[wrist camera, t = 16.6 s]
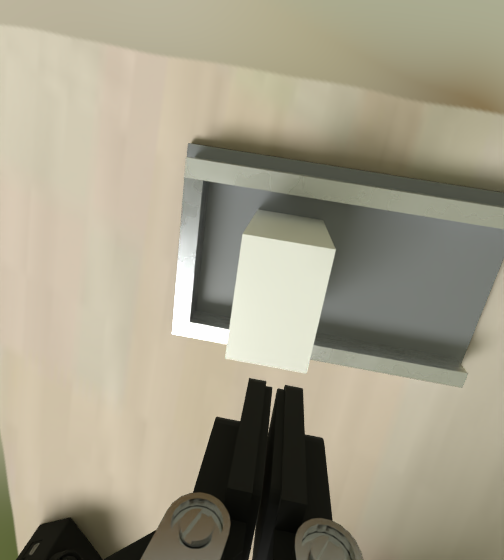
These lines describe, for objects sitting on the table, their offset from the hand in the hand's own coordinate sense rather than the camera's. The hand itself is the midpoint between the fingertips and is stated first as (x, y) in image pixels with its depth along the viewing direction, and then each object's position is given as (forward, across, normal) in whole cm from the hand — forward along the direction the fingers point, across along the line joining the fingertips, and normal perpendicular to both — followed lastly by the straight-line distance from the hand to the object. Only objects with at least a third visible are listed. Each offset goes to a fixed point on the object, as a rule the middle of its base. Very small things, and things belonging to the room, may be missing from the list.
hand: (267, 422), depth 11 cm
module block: (+16, 0, -1) cm, 16 cm away
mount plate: (+16, -3, -1) cm, 17 cm away
